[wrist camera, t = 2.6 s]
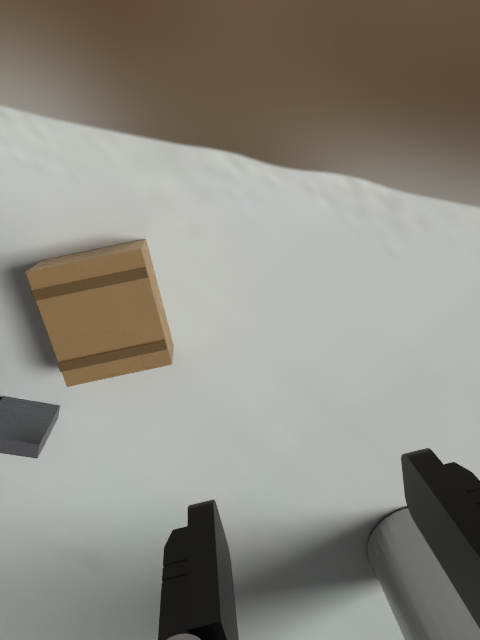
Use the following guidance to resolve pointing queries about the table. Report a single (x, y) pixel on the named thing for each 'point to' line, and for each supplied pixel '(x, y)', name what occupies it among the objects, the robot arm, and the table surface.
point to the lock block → (103, 312)
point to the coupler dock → (25, 426)
